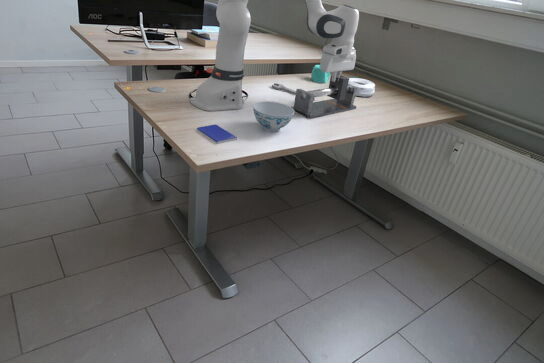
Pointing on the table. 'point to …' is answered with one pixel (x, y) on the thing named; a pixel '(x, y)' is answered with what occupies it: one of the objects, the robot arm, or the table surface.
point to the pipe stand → (323, 102)
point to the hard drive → (216, 134)
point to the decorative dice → (319, 75)
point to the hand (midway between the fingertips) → (334, 81)
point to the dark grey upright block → (342, 87)
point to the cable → (362, 86)
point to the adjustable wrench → (284, 89)
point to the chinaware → (272, 115)
